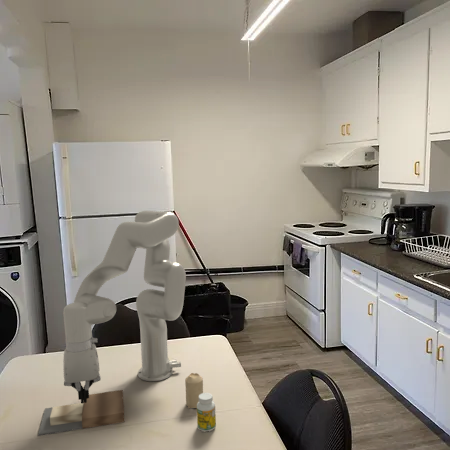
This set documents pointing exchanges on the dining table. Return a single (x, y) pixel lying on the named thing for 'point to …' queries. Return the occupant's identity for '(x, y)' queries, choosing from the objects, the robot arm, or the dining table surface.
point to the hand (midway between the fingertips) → (84, 400)
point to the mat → (48, 429)
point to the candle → (193, 389)
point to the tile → (66, 414)
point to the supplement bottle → (206, 412)
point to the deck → (103, 409)
